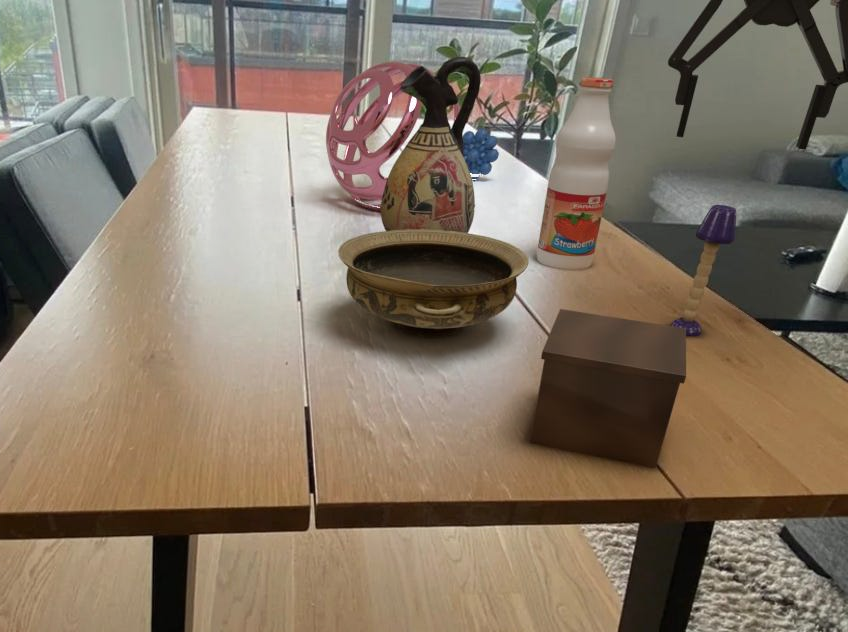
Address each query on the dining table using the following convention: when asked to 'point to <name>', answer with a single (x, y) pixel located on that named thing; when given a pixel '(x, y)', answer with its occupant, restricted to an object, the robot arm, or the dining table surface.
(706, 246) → the toy lamp
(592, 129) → the fruit juice
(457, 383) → the dining table surface
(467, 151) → the grapes
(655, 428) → the brown wooden box
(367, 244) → the ceramic bowl
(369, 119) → the spiral basket
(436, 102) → the ceramic jug
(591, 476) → the dining table surface
